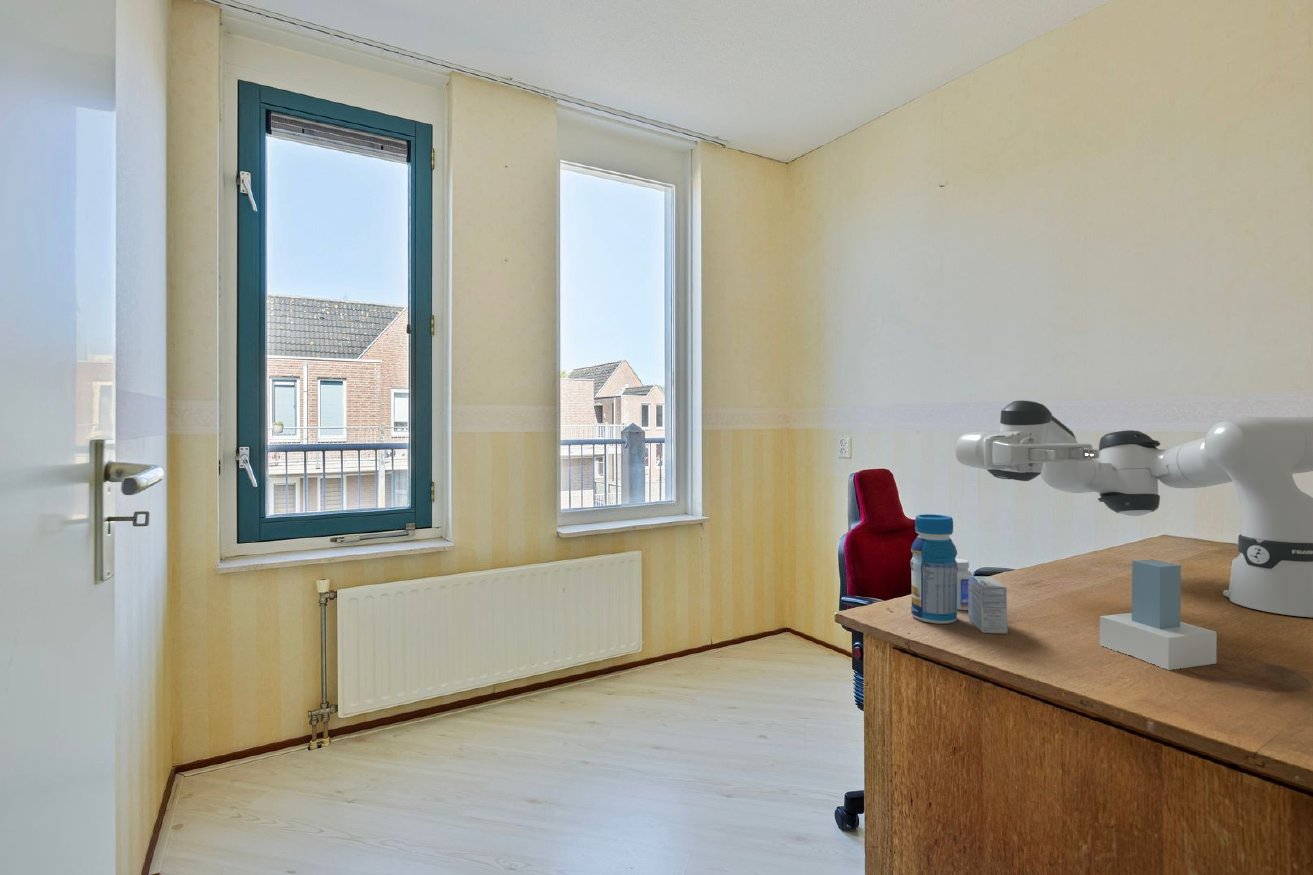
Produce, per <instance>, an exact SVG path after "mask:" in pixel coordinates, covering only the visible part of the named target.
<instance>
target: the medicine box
mask: <svg viewBox="0 0 1313 875" xmlns="http://www.w3.org/2000/svg"><path fill="white" fill-rule="evenodd" d="M1007 591H1008V590H1007V586H1005V585H1004V584H1003V583H1002V582H999V580H996V578H994V577H992V576H983V575H981V576H979V575H978V576H976V575H973V576H972V577H969V580H968V594H969V604H968V605H969V607H968V609H969V610H968V620H969V621H970V622H971V623H972V624H973V625H974V626H975V627H976V628H977V629H978V630H979V631H980V632H981V633H983V634H996V635H997V634H998V635H1006V634H1008V598H1007V597H1008V596H1007V595H1008V592H1007Z"/></svg>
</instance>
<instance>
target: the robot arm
mask: <svg viewBox="0 0 1313 875" xmlns="http://www.w3.org/2000/svg"><path fill="white" fill-rule="evenodd" d="M999 423H1000V425H999V431H995V430H979V431H978V430H977V431H970V432H966V433H964V434H961V435H960V436H959V437H958V439H957V442H956V444H955V449H954V450H955V452H954V453H955V457H956V459H957V461H958V462H959V463H960V464H962V465H965V466H967V467H971V468H974V469H975V468H976V469H983V470H987V471H988V473H990V474H991V475H992V476H993V477H994V478H998V479H1001V480H1013V481H1020V482H1029V481H1032V480H1033V479H1036V478H1037V477H1038V476H1040V477H1041V480H1043V482H1044V483H1045V484H1047V485H1048V486H1049V487H1051V488H1053V489H1056V490H1058V491H1060V492H1061V491H1062V492H1066V493H1070V494H1071V493H1072V494H1086V493H1094V492H1095V493H1097V494H1099V496H1100V497H1098V498H1097V500H1098V502H1101V503H1104V505H1106V507H1107V508H1108V509H1109V510H1111V511H1113V512H1115V513H1117V514H1121V515H1124V516H1131V517H1139V516H1144V515H1147V514H1149V513H1153V512H1155V511H1156V510H1158V509H1159V507H1160V502H1161V501H1160V500H1161V495H1160V494H1159V481H1160V483H1161V484H1163V485H1165V486H1167V487H1170V488H1174V489H1200V488H1206V487H1212V486H1217V485H1222V484H1228V483H1232V484H1234V486H1235V488H1236V491H1237V494H1238V497H1239V501H1240V502H1239V504H1240V505H1239V506H1240V524H1241V525H1240V527H1241V528H1240V529H1241V530H1240V531H1241V533H1240V534H1239V535H1238V538H1237V539H1238V540H1237V551H1238V552H1239V555H1238V556H1236V557H1235V558H1233V559H1232V561H1231V562H1232V564H1231V571H1230V579H1229V587H1228V589H1224V590H1223V592H1222V595H1223V596H1225V597H1226V598H1229V601H1230V602H1232V603H1234V604H1236V605H1239V606H1242V607H1246V608H1249V609H1254V610H1258V611H1262V612H1265V613H1266V612H1267V613H1273V614H1278V615H1279V614H1280V615H1286V616H1295V617H1303V618H1304V617H1306V618H1313V497H1312V496H1311V495H1310V494H1308V493H1305V492H1304V491H1301V489H1299V487H1298V486H1297V484H1296V482H1295V479H1294V477H1293V475H1295V474H1303V473H1308V472H1313V416H1254V417H1253V416H1250V417H1249V416H1245V417H1239V418H1234V419H1229V420H1224V421H1220V422H1219V421H1218V422H1217V423H1215V424H1214V425H1213V426H1211V427H1210V428H1209V430H1208V431H1207V433H1206V435H1205V436H1204V437H1201V438H1197V439H1194V440H1190V441H1187V442H1184V443H1182V444H1178V445H1176V446H1173V447H1170V448H1166V449H1165V448H1164V449H1163V448H1162V449H1159V448H1158V447H1159V446H1161V442H1160V441H1159V440H1156V439H1155V440H1154V439H1153V438H1152V437H1151V436H1150V435H1148V434H1147V433H1144V432H1141V431H1140V430H1132V429H1118V430H1115V431H1112V432H1109V433H1106V434H1104V435H1103V436H1102V437H1101V438H1100V440H1099V444H1098V449H1096V448H1093V444H1090V443H1081V442H1078V440H1077V438H1076V435H1075V434H1074V432H1073V431H1072V430H1071V429H1070V428H1069V427H1067V426H1066V425H1065V424H1064V423H1062V422H1061V421H1060V420H1059V419H1057V417H1054V415H1053V413H1052V412H1051V411H1050V409H1049V408H1048V407H1047V406H1045V405H1044V404H1042V403H1040V402H1037V401H1034V400H1033V401H1032V400H1025V399H1023V400H1014V401H1012V402H1010V403H1008V404H1007V405H1006V406H1005V407H1003V408H1002V409H1001V411H1000V422H999ZM1098 459H1100V460H1098Z"/></svg>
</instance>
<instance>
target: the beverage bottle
mask: <svg viewBox="0 0 1313 875" xmlns="http://www.w3.org/2000/svg"><path fill="white" fill-rule="evenodd" d="M914 524H915V525H914V528H915V533H917V534H918V535H917V536H916V538H915V539H914V541H913V542H912V545H911V549H910V551H911V554H912V557H911V559H910V568H911V570H910V572H911V579H910V580H911V607H910V608H911V609H910V612H911V613H910V614H911V615H912V617H913V618H914V619H916V620H919V621H921V622H924V623H929V624H936V625H937V624H938V625H947V624H952V623H955V622H956V621H957V619H958V611H957V571H958V564H957V562H956V560H955V558H956V557H957V555H958V550H957V547H956V545H955V543H954V541H953V540H952V539H951V537H950V536H953V533H954V520H953V517H951V516H950V515H949V516H948V515H943V514H934V513H933V514H926V513H925V514H918V515H916V516H915V520H914Z"/></svg>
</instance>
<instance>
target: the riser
mask: <svg viewBox="0 0 1313 875" xmlns="http://www.w3.org/2000/svg"><path fill="white" fill-rule="evenodd" d="M1217 637H1218V633H1217V631H1215V630H1212V629H1208V628H1204V627H1201V626H1197V625H1194V624H1190V623H1187V622H1184V621H1180V627H1174V628H1166V629H1157V628H1154V627H1151V626H1147V625H1144V624H1141V623H1138V622H1134V621H1132V612H1128V613H1127V612H1126V613H1125V612H1124V613H1116V614H1110V615H1101V616H1099V646H1101V647H1103V646H1104V647H1103V648H1106V647H1107V648H1106V649H1109V650H1111V649H1112V651H1113V652H1117V651H1119V652H1121V653H1120V654H1122V653H1124V654H1123V655H1125V654H1127V655H1126V656H1128V655H1132V656H1134V657H1136V658H1138V659H1137V660H1139V659H1142V660H1144V661H1146V662H1145V663H1147V662H1148V663H1147V664H1150V663H1152V664H1155V665H1156V667H1158V666H1159V667H1158V668H1161V669H1163V668H1164V669H1163V670H1166V669H1167V670H1166V671H1172V670H1173V669H1174V670H1179V669H1180V668H1181V669H1187V668H1193V667H1201V666H1207V665H1214V664H1217V643H1218V642H1217V640H1218V639H1217ZM1119 652H1118V653H1119ZM1136 658H1135V659H1136ZM1144 661H1143V662H1144ZM1152 664H1151V665H1152ZM1155 665H1154V666H1155ZM1181 669H1180V670H1181Z"/></svg>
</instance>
